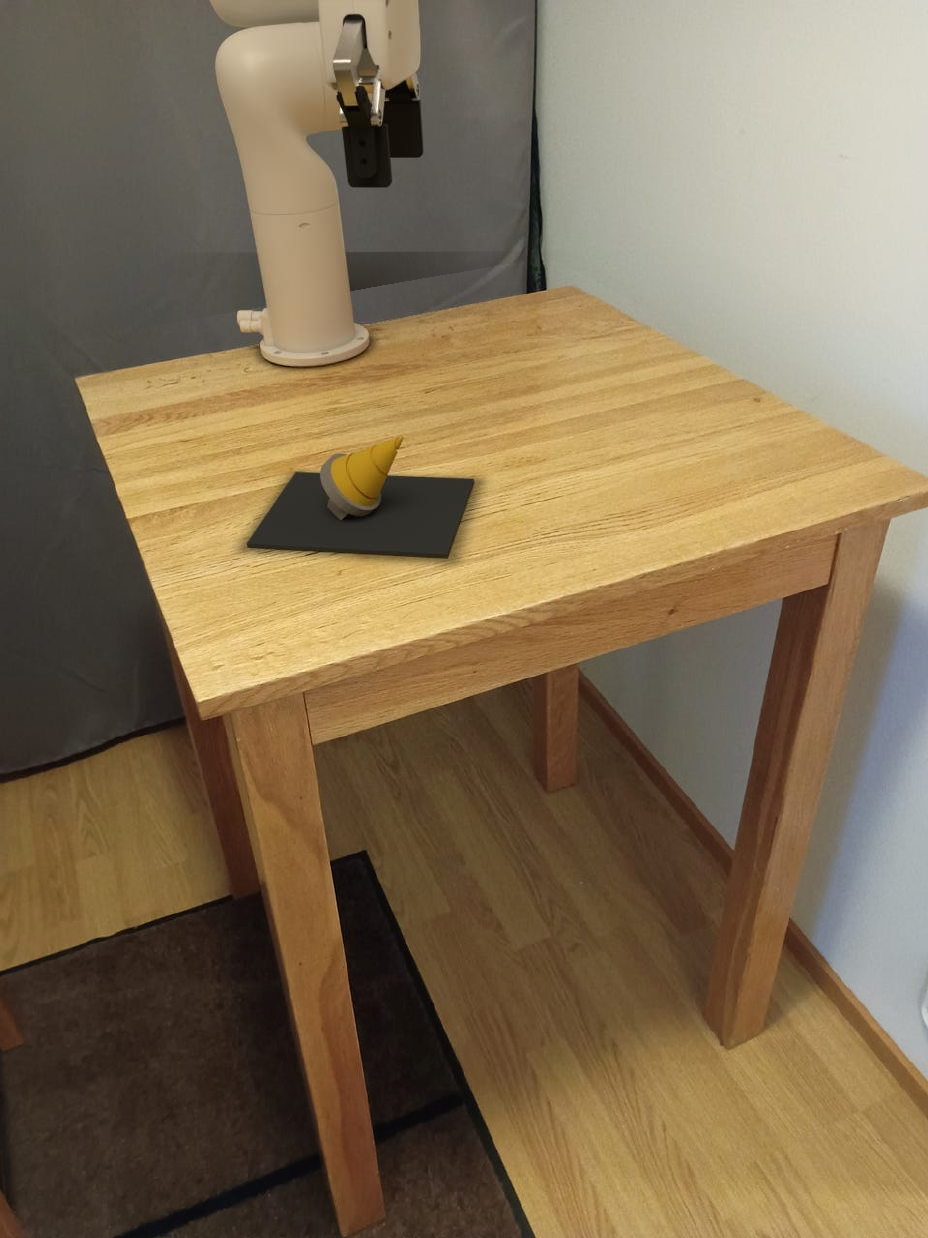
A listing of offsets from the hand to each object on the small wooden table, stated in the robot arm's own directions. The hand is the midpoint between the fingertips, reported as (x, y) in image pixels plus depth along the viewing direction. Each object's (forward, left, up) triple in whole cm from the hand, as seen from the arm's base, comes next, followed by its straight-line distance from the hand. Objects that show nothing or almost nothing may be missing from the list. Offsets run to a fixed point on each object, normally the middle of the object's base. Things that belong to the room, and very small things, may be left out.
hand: (388, 170), depth 71 cm
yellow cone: (-1, -12, -23) cm, 26 cm away
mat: (-1, -12, -23) cm, 26 cm away
